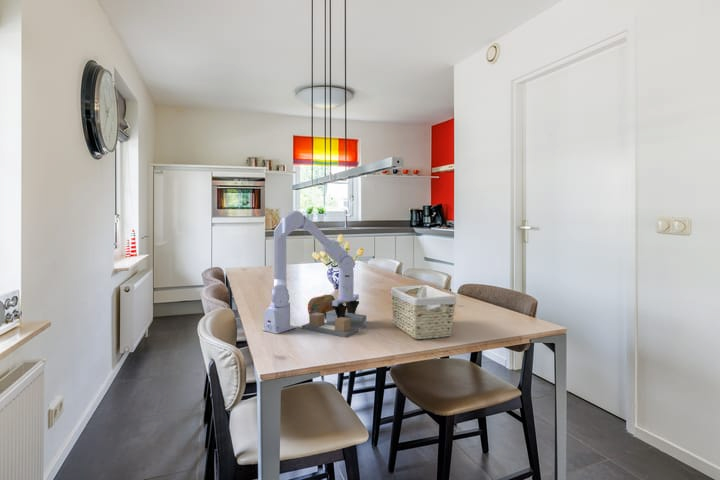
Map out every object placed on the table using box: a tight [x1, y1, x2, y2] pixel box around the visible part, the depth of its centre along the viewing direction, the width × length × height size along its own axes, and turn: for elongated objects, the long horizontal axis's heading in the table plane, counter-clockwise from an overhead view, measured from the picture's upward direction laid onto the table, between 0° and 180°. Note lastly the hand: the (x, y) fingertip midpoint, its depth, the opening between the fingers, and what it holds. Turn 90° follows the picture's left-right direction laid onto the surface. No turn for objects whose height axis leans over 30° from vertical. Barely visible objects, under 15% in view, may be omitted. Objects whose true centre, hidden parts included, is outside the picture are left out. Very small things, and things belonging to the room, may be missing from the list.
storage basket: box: [390, 284, 457, 340], centre depth 145 cm, size 24×16×15 cm
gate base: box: [301, 312, 359, 338], centre depth 145 cm, size 8×20×5 cm, turn 56°
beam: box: [325, 310, 368, 330], centre depth 152 cm, size 4×16×4 cm, turn 60°
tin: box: [307, 294, 336, 317], centre depth 166 cm, size 15×3×8 cm, turn 143°
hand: (346, 321), depth 152 cm, fingers open, 6 cm apart
